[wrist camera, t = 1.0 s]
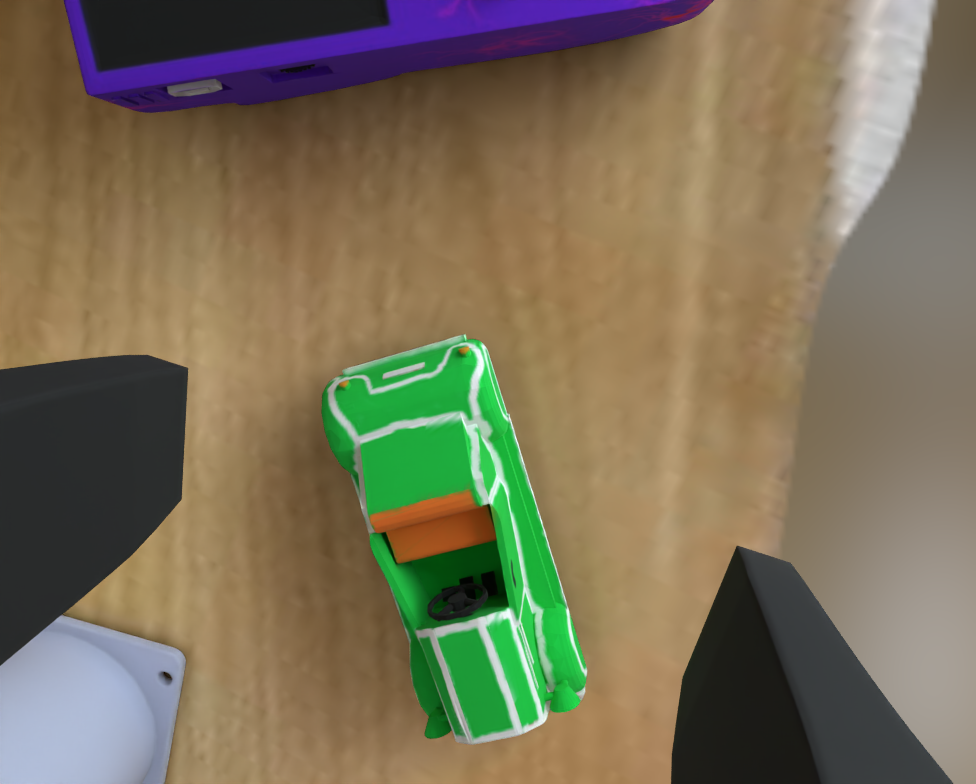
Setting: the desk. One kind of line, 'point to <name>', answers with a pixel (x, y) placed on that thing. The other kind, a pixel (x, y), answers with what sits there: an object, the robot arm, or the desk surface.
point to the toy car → (457, 539)
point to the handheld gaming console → (323, 42)
